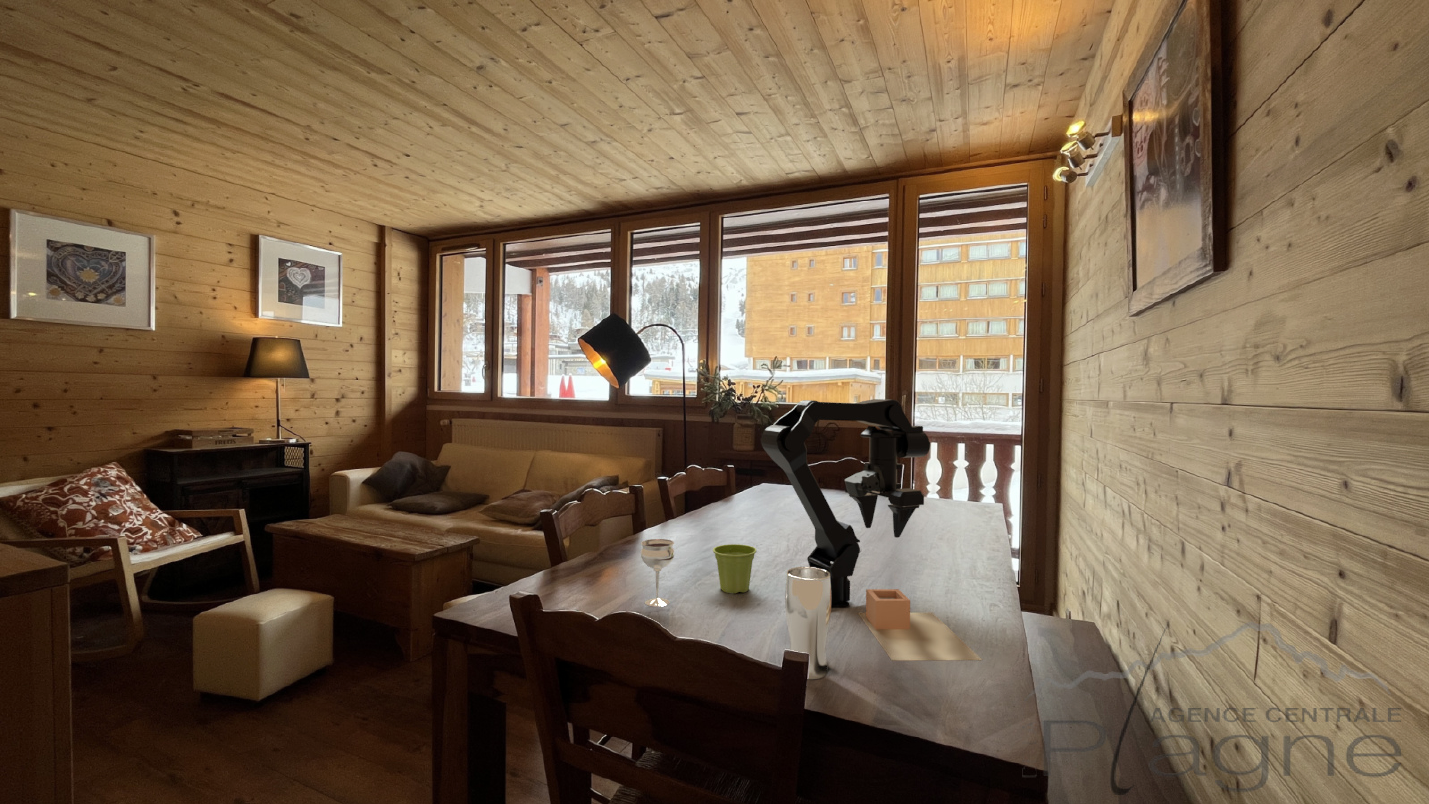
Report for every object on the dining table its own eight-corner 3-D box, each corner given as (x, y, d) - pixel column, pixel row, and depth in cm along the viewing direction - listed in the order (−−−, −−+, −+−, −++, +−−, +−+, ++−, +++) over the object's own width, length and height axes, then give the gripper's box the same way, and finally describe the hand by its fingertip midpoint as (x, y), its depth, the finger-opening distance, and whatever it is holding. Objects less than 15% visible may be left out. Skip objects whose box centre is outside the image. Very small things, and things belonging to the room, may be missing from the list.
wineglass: (633, 602, 122) (633, 543, 121) (658, 594, 127) (658, 537, 126) (655, 610, 117) (656, 549, 117) (681, 602, 122) (681, 542, 122)
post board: (891, 670, 93) (892, 634, 93) (857, 620, 113) (858, 591, 113) (982, 669, 93) (982, 634, 93) (932, 620, 113) (932, 591, 113)
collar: (875, 629, 105) (875, 600, 105) (865, 616, 111) (866, 589, 111) (909, 629, 105) (910, 600, 105) (898, 616, 111) (898, 589, 111)
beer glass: (780, 661, 96) (781, 566, 95) (823, 659, 96) (824, 565, 96) (789, 682, 89) (790, 580, 88) (836, 680, 89) (837, 579, 89)
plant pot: (705, 593, 128) (705, 552, 128) (722, 580, 136) (723, 542, 136) (747, 599, 124) (747, 557, 124) (762, 586, 133) (762, 546, 132)
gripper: (825, 455, 133) (824, 526, 133) (881, 465, 116) (880, 546, 116) (866, 453, 137) (865, 522, 137) (926, 463, 120) (925, 541, 120)
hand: (882, 532), depth 128 cm, fingers open, 9 cm apart
